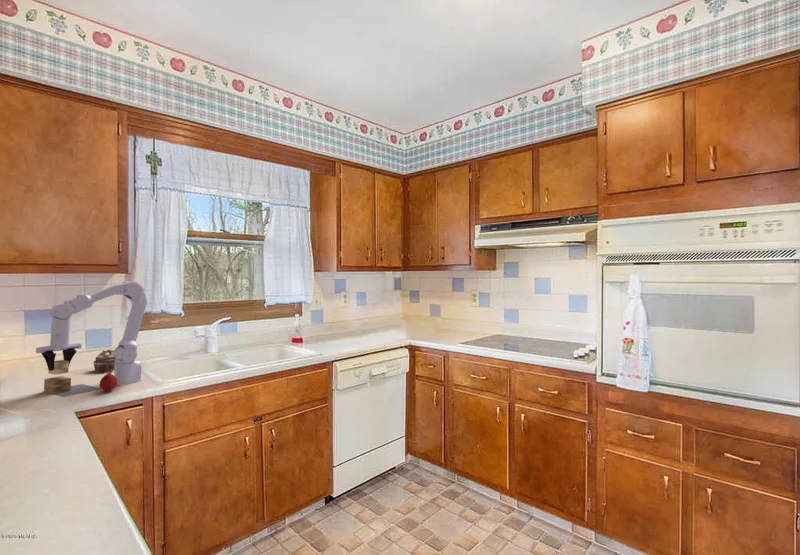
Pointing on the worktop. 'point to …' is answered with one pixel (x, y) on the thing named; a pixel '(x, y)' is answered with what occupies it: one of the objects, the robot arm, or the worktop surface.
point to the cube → (60, 367)
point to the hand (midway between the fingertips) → (58, 369)
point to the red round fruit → (108, 382)
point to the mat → (77, 390)
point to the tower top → (57, 381)
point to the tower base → (57, 389)
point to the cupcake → (105, 362)
